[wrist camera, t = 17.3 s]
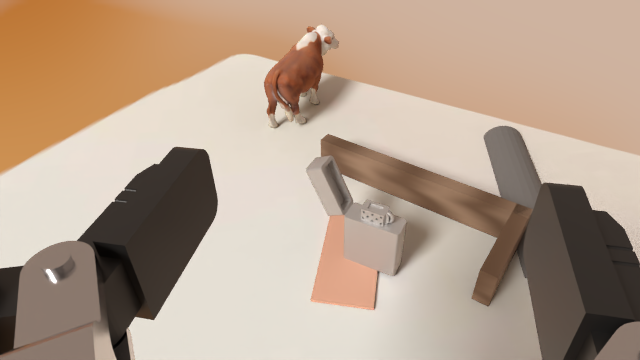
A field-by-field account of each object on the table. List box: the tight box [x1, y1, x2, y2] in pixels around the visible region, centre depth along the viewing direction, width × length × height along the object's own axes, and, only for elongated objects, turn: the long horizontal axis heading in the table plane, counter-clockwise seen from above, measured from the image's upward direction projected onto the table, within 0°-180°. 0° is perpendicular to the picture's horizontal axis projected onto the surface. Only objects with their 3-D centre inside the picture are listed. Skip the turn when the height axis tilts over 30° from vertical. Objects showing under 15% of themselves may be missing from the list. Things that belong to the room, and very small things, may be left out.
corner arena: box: [321, 134, 533, 306], centre depth 38 cm, size 19×8×3 cm, turn 55°
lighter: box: [306, 156, 407, 276], centre depth 33 cm, size 7×2×8 cm, turn 62°
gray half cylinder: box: [484, 126, 542, 278], centre depth 41 cm, size 4×20×2 cm, turn 174°
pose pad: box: [311, 215, 377, 310], centre depth 36 cm, size 4×10×1 cm, turn 170°
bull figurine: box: [264, 25, 339, 128], centre depth 51 cm, size 4×13×8 cm, turn 153°
